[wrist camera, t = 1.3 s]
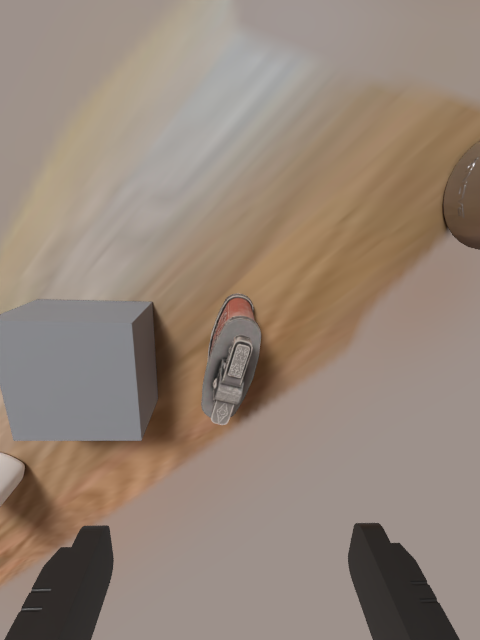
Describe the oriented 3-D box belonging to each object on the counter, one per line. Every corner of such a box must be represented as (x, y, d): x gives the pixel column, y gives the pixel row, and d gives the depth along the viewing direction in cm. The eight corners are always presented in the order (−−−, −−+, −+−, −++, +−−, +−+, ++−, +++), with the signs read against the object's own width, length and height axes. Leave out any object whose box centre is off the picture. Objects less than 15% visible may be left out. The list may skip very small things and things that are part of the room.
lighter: (235, 375, 29) (238, 448, 20) (201, 367, 29) (188, 438, 20) (259, 299, 27) (276, 340, 18) (223, 288, 27) (221, 325, 17)
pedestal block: (152, 301, 27) (131, 323, 21) (158, 399, 30) (141, 440, 24) (37, 299, 26) (-16, 320, 21) (55, 398, 29) (13, 440, 24)
